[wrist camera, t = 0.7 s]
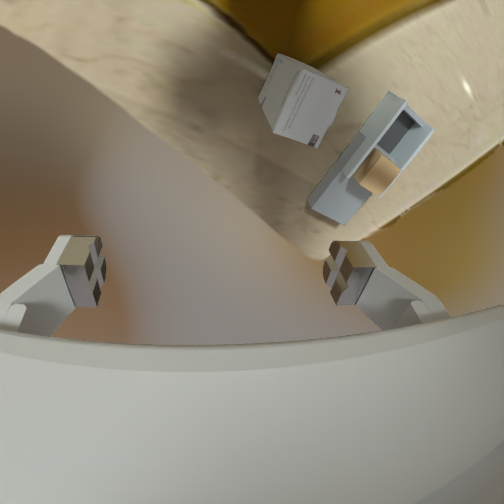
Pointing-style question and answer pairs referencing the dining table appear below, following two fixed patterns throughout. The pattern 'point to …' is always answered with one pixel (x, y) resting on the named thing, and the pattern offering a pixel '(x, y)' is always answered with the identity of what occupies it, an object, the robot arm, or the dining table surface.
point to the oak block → (376, 172)
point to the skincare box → (300, 100)
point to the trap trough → (370, 135)
